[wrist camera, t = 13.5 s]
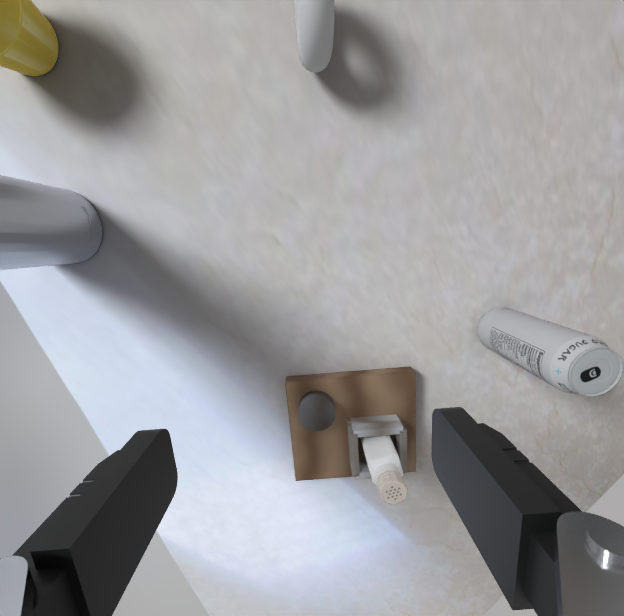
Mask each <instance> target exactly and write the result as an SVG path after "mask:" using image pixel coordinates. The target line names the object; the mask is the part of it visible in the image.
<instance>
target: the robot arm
mask: <svg viewBox="0 0 624 616" xmlns="http://www.w3.org/2000/svg"><path fill="white" fill-rule="evenodd" d="M101 241H102V224H101V221H100V218H99V216H98V214H97V212H96V210H95V209H94V207H93V206H92V205H91V204H90V203H89V202H88V201H87V200H86V199H85V198H84V197H82V196H80V195H79V194H77V193H75V192H72V191H69V190H66V189H61V188H57V187H52V186H47V185H43V184H39V183H34V182H30V181H25V180H21V179H16V178H11V177H7V176H2V175H0V270H7V269H18V268H29V267H40V266H52V265H63V264H73V263H80V262H83V261H86V260H87V259H89V258H91V257H92V256H93V255H94V254H95V253H96V252H97V250H98V248H99V247H100V244H101ZM432 461H433V466H434V469H435V472H436V475H437V477H438V479H439V481H440V482H441V484H442V486H443V488H444V489H445V491H446V493H447V495H448V497H449V498H450V500H451V502H452V504H453V505H454V507H455V509H456V511H457V512H458V514H459V516H460V518H461V520H462V521H463V523H464V525H465V527H466V528H467V530H468V532H469V534H470V535H471V537H472V539H473V541H474V543H475V544H476V546H477V548H478V550H479V551H480V553H481V555H482V557H483V558H484V560H485V562H486V564H487V566H488V567H489V569H490V571H491V573H492V574H493V576H494V578H495V580H496V582H497V583H498V585H499V587H500V589H501V590H502V592H503V594H504V596H505V597H506V599H507V601H508V603H509V604H510V606H511V608H512V610H522V609H534V610H535V612H536V613H537V615H538V616H624V527H623V526H621V525H620V524H617V523H616V522H613V521H611V520H609V519H607V518H604V517H601V516H598V515H595V514H591V513H586V512H582V511H581V510H580V509H579V508H578V507H577V506H576V505H575V504H574V503H573V502H572V501H571V500H570V499H569V498H568V497H567V496H566V495H565V494H563V493H562V492H561V491H560V490H559V489H558V488H557V487H556V486H555V485H554V484H553V483H552V482H551V481H550V480H549V479H548V478H547V477H546V476H545V475H544V474H543V473H542V472H541V471H540V470H539V469H538V468H537V467H536V466H535V465H534V464H533V463H530V462H529V460H528V459H527V458H526V457H525V456H524V455H523V454H522V453H521V452H520V451H517V449H516V447H515V446H514V445H513V444H512V443H511V442H510V441H509V440H508V439H507V438H506V437H505V436H504V435H503V434H501V433H500V432H498V431H496V430H494V429H493V428H491V427H489V426H487V425H486V424H484V423H481V424H477V423H476V421H475V420H474V419H473V418H472V417H471V416H470V415H469V414H468V413H467V412H466V411H465V410H464V409H463V408H461V407H454V408H441V409H435V410H434V411H433V414H432ZM177 477H178V476H177V468H176V463H175V458H174V453H173V448H172V443H171V438H170V434H169V432H168V430H167V429H156V430H142V431H138V432H136V433H135V434H134V435H133V436H132V438H131V439H130V440H129V441H128V442H127V443H126V444H125V445H124V447H123V448H122V449H121V450H117V451H116V452H115V453H113V454H112V455H110V456H109V457H107V458H106V459H105V460H103V461H102V462H100V463H99V464H98V465H97V466H96V467H95V468H94V469H93V470H92V471H91V472H90V473H89V474H88V475H87V476H86V477H85V478H84V480H83V483H80V484H79V485H78V486H77V487H76V488H75V489H74V490H73V491H72V492H71V493H70V497H69V498H66V499H65V500H64V501H63V502H62V503H61V504H60V506H58V508H56V510H55V511H54V512H53V513H52V514H51V515H50V516H49V517H48V518H47V519H46V520H45V521H44V522H43V523H42V524H41V525H40V527H39V528H38V529H37V530H36V531H35V532H34V533H33V534H32V535H31V536H30V537H29V538H28V539H27V540H26V542H25V543H24V544H23V545H22V546H21V547H20V548H19V549H18V550H17V551H16V552H15V553H14V554H13V555H12V556H7V557H3V558H0V616H112V614H113V612H114V610H115V608H116V607H117V605H118V603H119V601H120V599H121V597H122V595H123V593H124V591H125V589H126V587H127V585H128V583H129V582H130V580H131V577H132V576H133V574H134V572H135V570H136V568H137V566H138V564H139V562H140V560H141V558H142V556H143V554H144V553H145V551H146V549H147V547H148V545H149V543H150V541H151V539H152V537H153V535H154V533H155V531H156V529H157V528H158V526H159V524H160V522H161V520H162V518H163V516H164V514H165V512H166V510H167V508H168V506H169V504H170V502H171V501H172V499H173V496H174V494H175V491H176V487H177Z"/></svg>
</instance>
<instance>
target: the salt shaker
mask: <svg viewBox="0 0 624 616" xmlns="http://www.w3.org/2000/svg"><path fill="white" fill-rule="evenodd" d="M360 438H361V442H362V446H363V450H364V453H365V457H366V461H367V464H368V468H369V471H370V475H371V478H372V481H373V483H374V484H375V485H377V488H378V491H379V495H380V497H381V498H382V500H383V501H384V502H386V503H388V504H398V503H400V502H402V501H403V500H404V499H405V497H406V496H407V487H406V485H405V482H404V480H403V470H402V466H401V463H400V459H399V456H398V454H397V451H396V449H395V447H394V444H393V442H392V440H391V437H390V435H382V436H369V437H360Z"/></svg>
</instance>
